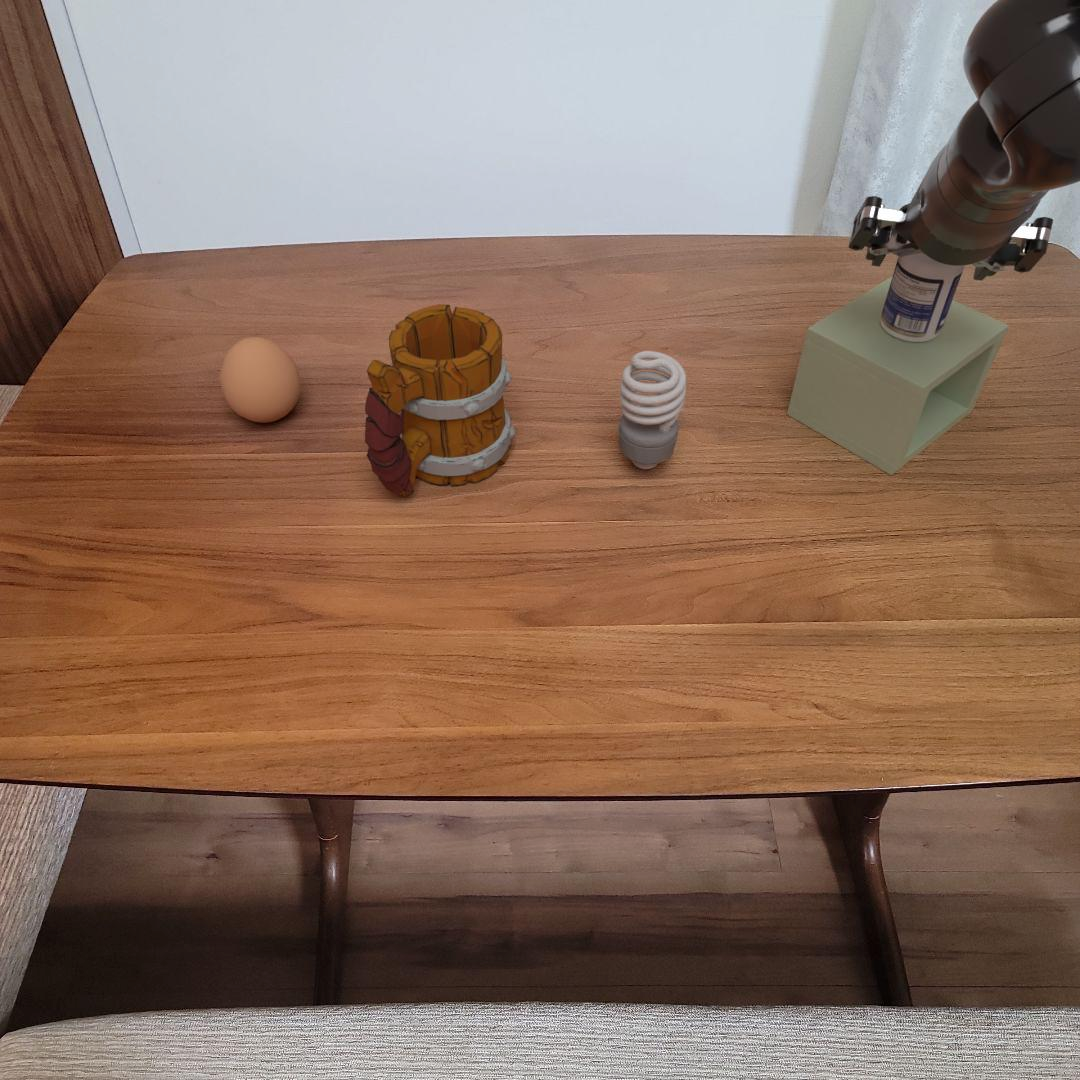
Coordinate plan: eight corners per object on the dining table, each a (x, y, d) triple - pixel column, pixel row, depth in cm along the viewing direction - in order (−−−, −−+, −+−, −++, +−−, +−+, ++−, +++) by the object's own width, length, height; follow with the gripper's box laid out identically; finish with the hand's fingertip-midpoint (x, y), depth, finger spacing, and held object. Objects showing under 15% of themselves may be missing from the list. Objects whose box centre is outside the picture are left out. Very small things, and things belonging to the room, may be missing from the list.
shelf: (972, 411, 91) (1009, 325, 84) (891, 475, 85) (923, 388, 78) (869, 358, 98) (895, 273, 90) (786, 414, 91) (807, 327, 84)
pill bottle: (915, 305, 86) (948, 206, 79) (953, 336, 83) (991, 235, 76) (866, 317, 85) (895, 217, 78) (902, 349, 82) (936, 247, 75)
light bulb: (602, 470, 86) (609, 363, 77) (635, 439, 89) (645, 332, 80) (654, 496, 83) (666, 388, 75) (686, 462, 86) (702, 355, 78)
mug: (536, 437, 89) (535, 300, 78) (430, 541, 80) (412, 402, 69) (446, 398, 93) (433, 264, 82) (336, 493, 84) (305, 355, 73)
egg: (295, 441, 89) (277, 368, 82) (221, 436, 89) (197, 363, 83) (316, 394, 94) (300, 321, 87) (245, 390, 94) (224, 317, 88)
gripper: (1097, 153, 63) (1023, 230, 79) (882, 130, 66) (852, 208, 82) (1073, 262, 64) (1004, 316, 80) (860, 234, 66) (835, 292, 82)
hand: (927, 261), depth 81 cm, fingers open, 8 cm apart
